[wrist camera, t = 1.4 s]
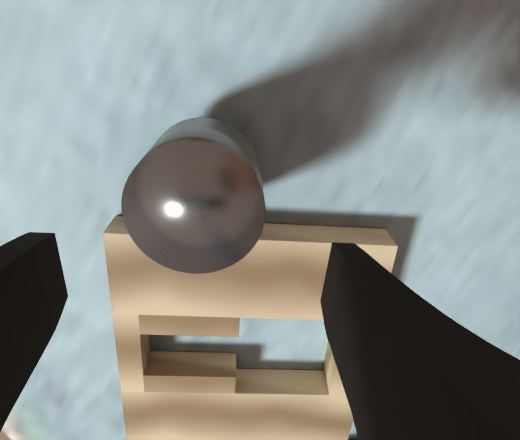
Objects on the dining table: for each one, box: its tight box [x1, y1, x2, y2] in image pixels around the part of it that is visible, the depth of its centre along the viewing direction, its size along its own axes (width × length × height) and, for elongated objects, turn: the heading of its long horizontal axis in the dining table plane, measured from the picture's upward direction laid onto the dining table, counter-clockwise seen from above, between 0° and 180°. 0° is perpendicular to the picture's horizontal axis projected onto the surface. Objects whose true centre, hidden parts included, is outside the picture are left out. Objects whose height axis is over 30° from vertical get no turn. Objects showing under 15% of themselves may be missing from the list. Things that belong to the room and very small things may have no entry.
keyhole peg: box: [122, 117, 265, 274], centre depth 17 cm, size 5×5×7 cm
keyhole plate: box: [103, 216, 398, 440], centre depth 24 cm, size 16×15×2 cm
